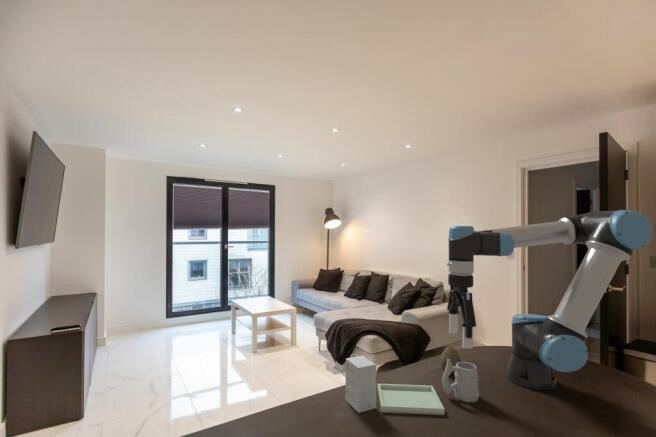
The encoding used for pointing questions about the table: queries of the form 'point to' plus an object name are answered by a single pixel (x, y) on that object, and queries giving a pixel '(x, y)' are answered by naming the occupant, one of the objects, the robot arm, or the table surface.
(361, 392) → the small box
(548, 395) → the table surface
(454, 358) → the decorative egg
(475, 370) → the mug
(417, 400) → the tray
